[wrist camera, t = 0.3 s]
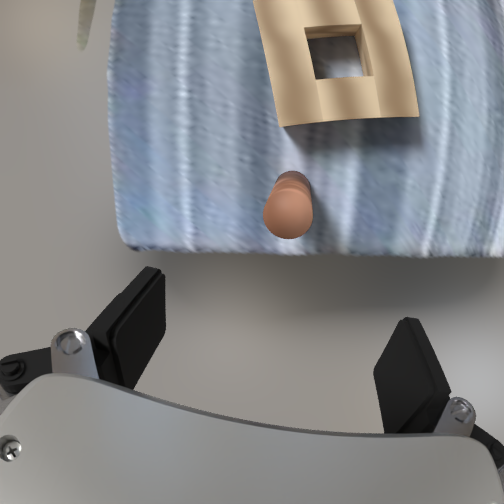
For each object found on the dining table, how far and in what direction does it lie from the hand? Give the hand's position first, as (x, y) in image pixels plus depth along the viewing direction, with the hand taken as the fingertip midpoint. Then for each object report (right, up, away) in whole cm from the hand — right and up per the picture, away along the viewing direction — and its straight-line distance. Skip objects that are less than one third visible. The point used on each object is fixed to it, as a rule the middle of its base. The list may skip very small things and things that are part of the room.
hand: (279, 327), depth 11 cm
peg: (+4, +11, +26) cm, 29 cm away
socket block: (+9, +26, +18) cm, 33 cm away
